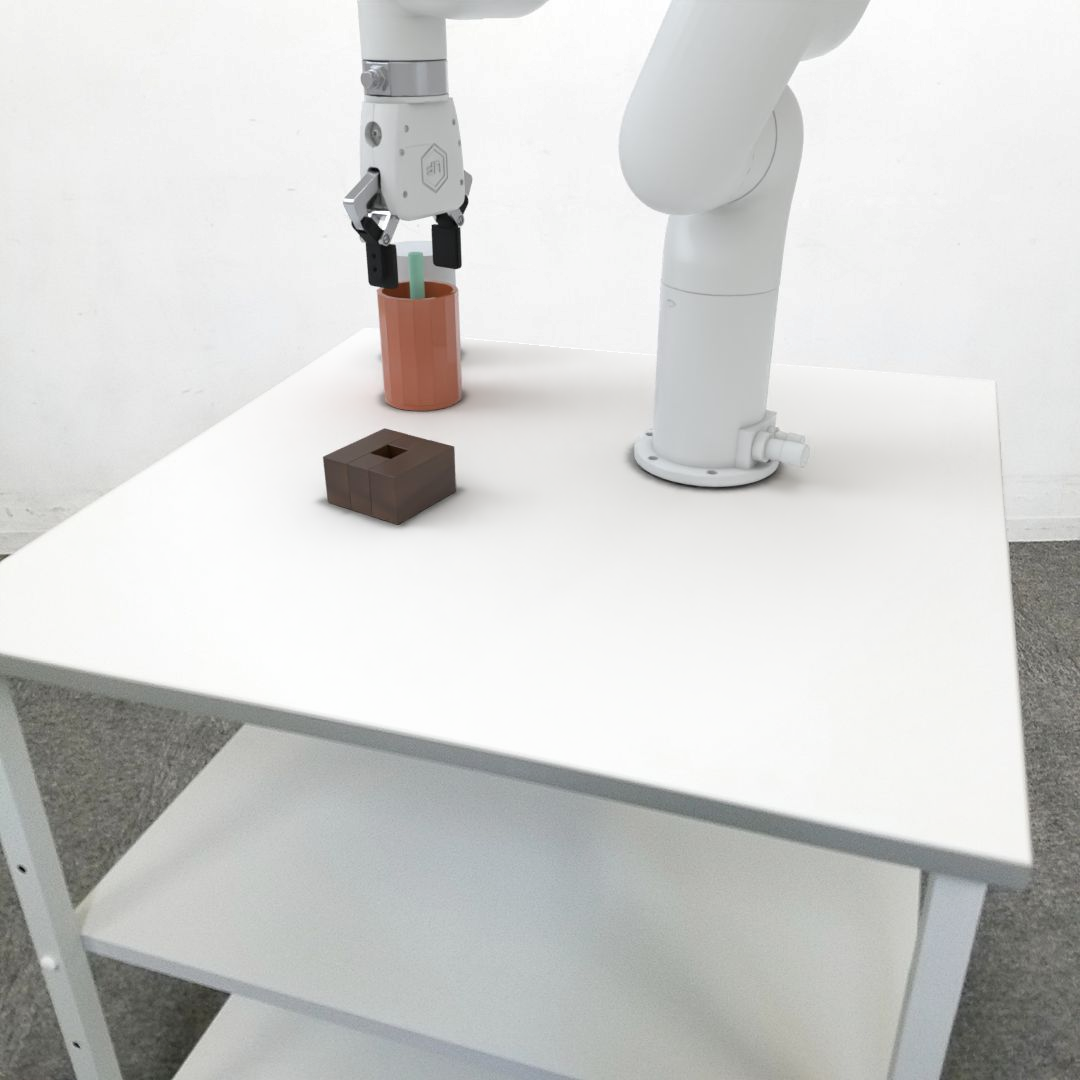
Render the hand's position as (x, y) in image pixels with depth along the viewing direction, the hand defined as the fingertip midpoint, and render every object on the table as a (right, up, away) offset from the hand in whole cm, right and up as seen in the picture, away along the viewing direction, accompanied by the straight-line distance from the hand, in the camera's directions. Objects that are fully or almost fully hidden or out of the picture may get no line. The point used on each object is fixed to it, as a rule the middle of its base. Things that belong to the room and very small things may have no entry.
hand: (416, 276), depth 100 cm
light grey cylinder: (-2, -5, +18) cm, 19 cm away
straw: (0, -10, +5) cm, 12 cm away
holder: (0, -22, -16) cm, 27 cm away
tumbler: (0, -11, +6) cm, 12 cm away
